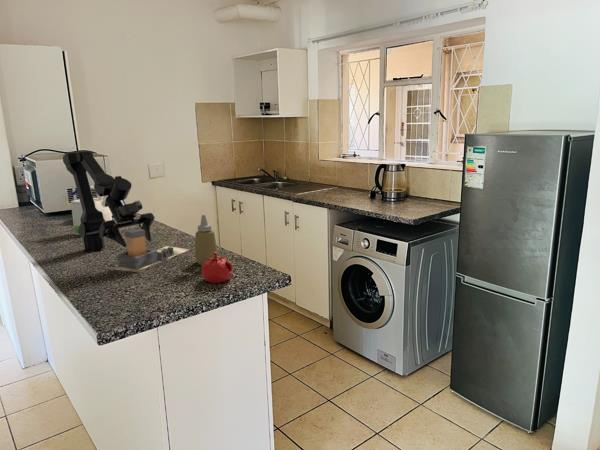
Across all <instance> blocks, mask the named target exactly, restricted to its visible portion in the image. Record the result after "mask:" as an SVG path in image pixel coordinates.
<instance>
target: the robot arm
mask: <svg viewBox="0 0 600 450" xmlns="http://www.w3.org/2000/svg"><path fill="white" fill-rule="evenodd" d="M62 161H63V164H64V165H65V167H66V171H68V173H70V174H71V175H72V176H73V179H74V183H75V187H76V190H77V191H78V192H77V195H78V200H79V199H80V203H81V206H82V210H83V212H82V215H81V218H80V220H81V224H80V227H79V229H78V233H79V237H81V238H82V239H83V244H84V245H83V246H84V250H83V253H84V252H85V253H87V252H88V253H89V252H100V251H102V250H103V249H104V248H105V244H106V243H105V239H104V238H106V239H110V240H112V241H114V242H116V243H117V244H118V245H120V246H122V247H123V248H127V242H126V241H125V239H124V238H123V236H122V235H121V232H120V230H119V229H123V228H129V227H132V226H133V227H134V226H137V225H138V227H139V229H143V230H145V239H146V240H147V241H148V242H151V240H152V237H151V236H152V235H151V230H150V227H151V226H152V224H153V222H154V220H155V218H156V217H155V215H154V214H153V213H152V212H147V213H141V214H140V217H139V218H136V217H137V213H138V212H140V211H141V210H143V205H142V202H141V201H140V200H135V201H133V202H132V203H126V202H125V200H126V199H127V198H128V196H129V194H130V191H131V188H132V182H131V181H130V180H128V179H126V178H123V177H122V176H121V175H117V176H115V177H113V176H112V175H109V174H107V173H106V172H105V171H104V170H103V168H102V166H101V165H100V164H99V162H98V161H97V160H96V159H95V157H94V154H93V152H92V151H90V150H80V151H67V152H65V154H64V155H63V156H62ZM88 175H89V176H90V177H91V179H92V180H93V182H94V184H93V186H94V189H95V190H94V189H93V190H94V191H95V193H96V194H97V196H98V197H99V196H100V197H102V196H103V197H105V198H106V197H107V198H106V200H105V207H109V209H110V211H111V213H112V219H113V220H109V221H105V220H104V218H103V213H102V212H101V211H98V210H97V209H96V207H95V203H94V200H93V198H94V197H93V196H94V195H93V193H92V188H90V186H91V185H90V182H89V178H88ZM135 218H136V219H135Z"/></svg>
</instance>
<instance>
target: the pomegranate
mask: <svg viewBox="0 0 600 450" xmlns="http://www.w3.org/2000/svg"><path fill="white" fill-rule="evenodd" d="M213 256H214V258H213V259H212V258H205V259H210V260H209V261H206V262H205V263H204V264H203V265H202V267H201V270H200V271H201V272H200V273H201V276H202V278H203V280H205V281H206V282H208V283H210V284H220V283H221V282H222V283H224V282H227V281H229V280H230V279H231V278H232V274H233V270H234V269H233V268H234V267H233V265H232V263H231V262H230V261H229V260H228V258H226V257H227V255H221V256H218V257H217V252H214V255H213Z"/></svg>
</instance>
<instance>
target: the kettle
mask: <svg viewBox="0 0 600 450" xmlns="http://www.w3.org/2000/svg"><path fill="white" fill-rule="evenodd" d="M90 189H91V190H92V189H93V190H94V191H95V189H94V185H90ZM76 194H78V191H77V189H75V190H74V191H72V193H70V195H71V196H76ZM106 198H107V196H105V198H104V196H102V197H100V196H99V195H98V197H93V200H95V207H96V209H97V210H98V211H101V212H102V213H103V218H104V220H105V221H109V220H112V213H111V211H110V209H109V207H105V200H106Z"/></svg>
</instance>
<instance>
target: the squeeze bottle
mask: <svg viewBox="0 0 600 450" xmlns="http://www.w3.org/2000/svg"><path fill="white" fill-rule="evenodd" d="M194 237H195V238H194V239H195V240H194V258H195V260H196V262H197V264H198V265H200V268H202V265H203V264H204V263H205V262H206V261H209V260H210V259H205V258H212V259H213V258H214V256H213V255H214V252H217V257H219V252H218V251H219V250H218V247H217V240H216V239H217V238H216V234H215V231H214V230H212V224H210V223H208V220H207V216H206V214H201V218H200V224H198V225H197V231H196V232H195V235H194Z"/></svg>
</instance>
